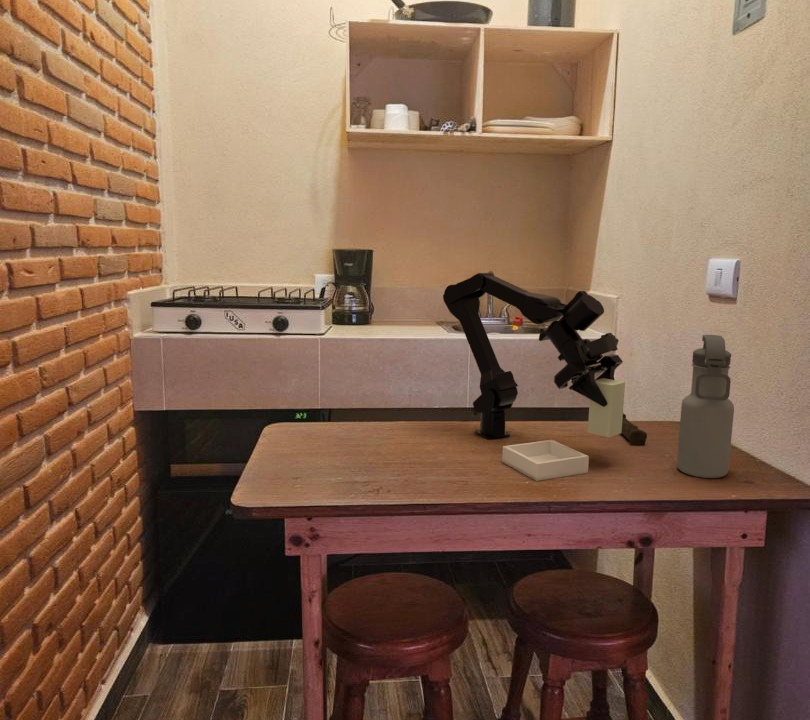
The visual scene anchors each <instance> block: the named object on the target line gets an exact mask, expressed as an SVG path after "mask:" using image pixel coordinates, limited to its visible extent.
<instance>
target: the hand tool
mask: <svg viewBox="0 0 810 720" xmlns="http://www.w3.org/2000/svg"><path fill="white" fill-rule="evenodd" d="M620 434H622V435H623V436H624V437H625V438H626V439H627V440H628V443H629V444H630V446H644V445H645V444H646V443H647V439H648V434H647V432H646V431H644V430H642V429H640V428H638V425H635V424H633V423H632V422H631V421H630V420H629V419H627V415H626V414H625V413H624V412H623V419H622V432H621V433H620Z"/></svg>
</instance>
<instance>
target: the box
mask: <svg viewBox="0 0 810 720" xmlns="http://www.w3.org/2000/svg"><path fill="white" fill-rule="evenodd" d="M589 459H590V457H589V455H587V454H585V453H583V452H580V451H578V450H575V449H573V448H571V447H569V446H567V445H565V444H562V443H560V442H558V441H555V440H554V439H547V440H539V441H534V442H533V441H532V442H525V443H516V444H511V445H503V446H502V461H501V462H502V463H503V464H506V465H507V466H509V467H511V468H512V469H514V470H516V471H517V472H519V473H521V474H522V475H523V474H524V475H525V476H526V477H528V478H530V479H532V480H534V481H536V482H539V481H545V480H552V479H557V478H561V477H562V478H564V477H569V476H574V475H575V476H577V475H581V474H588V472H589V461H590V460H589Z"/></svg>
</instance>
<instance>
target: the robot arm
mask: <svg viewBox="0 0 810 720" xmlns="http://www.w3.org/2000/svg"><path fill="white" fill-rule="evenodd" d="M486 294H487V295H490V296H492V297H494V298H496V299H498V300H500V301H503V302H504V303H506V304H507V305H511V306H513V307H515V308H516V309H517V310H518V311H519V312H520V313H521V315H522V316H523V317H524V318H526V319H527V320H529V322H531V323H532V324H535V325H542V324H549V323H550V324H549V325H548V326H547V327H543V328H542V327H541V328H540V330H539V336H538V341H540V342H543V341H550V342H551V344H552V345H553V347H554V348H555V349H556V351H557V352H558V354H559V355H558V356H557V359H558V360H559V362H561V361H564V362H565V364H566V365H565V366H564V367H562V368H561V369H560V370H559V371H558V372H557V373H556V374H555V375H554V376H553V383H554V384H555V386H556V388H557V389H558V390H562V389H566V388H567V387H568V386H569V381H570V382H571V384H572V385H570V386H569V387H568V389H569V390H570V391H574V392H575V393H578V394H579V395H581V396H584V397H586V398H587V399H589V400H590V399H591V400H592V401H594V402H596V403H597V404H599V405H601V406H603V407H605V406H606V405H607V404H608V403H607V401H606V399H605V397H604V396H603V394H602V392H601V391H600V389H599V387H598V386H597V384H596V382H595V380H599V379H602V378H605V379H611V380H616V379H615V372H616V370H617V368H618V367H619V366H621V365H622V364H623V362H624V361H623V359H622V358H621V357H620V356H619V354H613V353H611V354H607V353H609V352H615V351H618V343H619V339H618V338H617V337H616V335H615V334H613V333H612V332H607V333H605V334H601V336H600V337H599V338H596V339H594V340H592V341H591V340H590V339H588V338H585V339H583V338H582V337H581V335H580V334H579V332H578V331H581V332H585V331H586V330H587V329H589V328H590V327H591V326H592V325H593V324H594V323H595V322H596V321H597V320H598V319H599V318H600V317H601V316H602V315H603V314H604V313H605V308H604V307H603V305H602V303H601V302H600V301H599V300H597V299H596V298H595V297H594V296H593V295H590V294H588V292H586V290H579V291H578V292H576V294H575V295H574V296H573V298H572V299H571V300H570V301H569V302H568V303H567V304H566V303H562V301H561V300H560V299H559V298H558V297H556V296H552V295H548V294H542V293H536V292H532V291H531V292H530V291H528V290H526V289H524V288H521V287H519V286H517V285H515V284H513V283H511V282H509V281H506V280H504V279H503V278H501V277H498V276H496V275H494V273H492V272H478V273H476V274H474V275H473V276H471V277H470V278H466V279H465V280H462V281H460V282H457V283H456V284H455V283H454V284H449V285H447V287H445V290H444V292H443V294H442V300H443V303H444V304H445V306H446V308H447V309H448V311H449V313H450V314H451V315H452V316H453V317H454V318H456V319H457V320H458V321H459V323H460V325H461V327H462V330H463V333H464V337H465V338H466V340H467V343H468V345H469V348H470V350H471V353H472V356H473V357H474V360H475V363H476V366H477V368H478V370H479V373H480V379H479V389H480V395H479V396H478V397H477V398H476V399H475V400H474V401H473V402H472V405H473V410H474V412H476V413H480V419H479V420H480V423H479V425H480V426H479V429H476V430H475V429H474V433H475V434H477V435H479V436H480V437H482V438H485V439H486V440H491V439H498V438H507V437H510V436H511V433H509V432H507V431H506V410H511V409H512V407H513V404H514V402H515V401H516V399H517V396H518V395H519V394H518V393H519V392H518V388H517V387H519V385H518V383H517V382H516V381H515V377H514V374H513V372H512V370H509V371H505V370H504V369H503V368H501V366H500V364H499V361H498V358H497V356H496V354H495V351H494V349H493V346H492V344H491V341H490V339H489V337H488V334H487V332H486V330H485V327H484V325H483V321H482V320H481V317H480V314H479V313H480V307H481V306H480V305H481V302H480V298H482V297H484V296H485V295H486ZM603 354H604V355H603ZM605 354H607V355H605Z"/></svg>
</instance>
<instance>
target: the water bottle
mask: <svg viewBox="0 0 810 720" xmlns="http://www.w3.org/2000/svg"><path fill="white" fill-rule="evenodd" d="M701 341H702V342H703V346H702V348H696V349H695V350H693V352H692V362H691V363H692V364H691V366H692V367H693V368H692V378H691V389H690V390H691V391H690V393H689V394H688V395H687V396H685V397H684V398H683V399H682V401H681V408H680V419H679V420H680V421H679V431H678V433H679V434H678V445H677V457H676V459H677V460H676V466H677V469H678V470H679V471H680V472H682V473H684V474H685V475H689V476H693V477H696V478H701V479H703V478H704V479H718V478H722V477H725V476H726V475H728V472H729V470H730V468H729V467H730V459H731V448H732V439H733V438H732V435H733V426H734V425H733V423H734V416H735V414H734V413H735V405H734V403H733V402H732V401H731V399H729V398H730V392H731V381H732V380H731V378H730V376H729V370H730V369H731V366H730V365H731V359H732V353H731V352H730V351H728V350H726V341H725V338H724V337H723V336H722V335H717V334H702V337H701Z"/></svg>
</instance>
